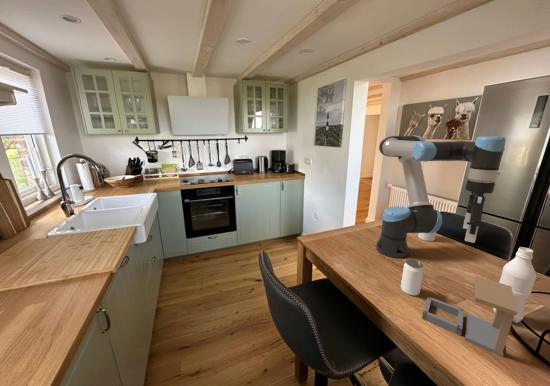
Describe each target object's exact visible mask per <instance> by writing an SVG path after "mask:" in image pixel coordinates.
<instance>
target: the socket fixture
mask: <svg viewBox="0 0 550 386" xmlns="http://www.w3.org/2000/svg"><path fill="white" fill-rule="evenodd" d="M474 302H476V303H479V304H481V305H484V306H487V307H490V308H492V309H493V308H495V309H496V312H495V313H494V316H493V319H492V322H491V321H488V320H485V319H482V318H480V317H478V316H474V315H472V314H469V313H466V314H465V326H464V327H465V331H464V332H465V333H464V340H465V341H466V342H469V343H471V344H473V345H475V346H478V347H480V348H483V349H484V350H486V351H488V352H492V353H493V354H495V355H498V356H500V357H503V358H504V354H505V353H504V349H505V346H506V343H507V339H508V336H509V333H510V330H511V327H512V323H513V318H514V315H515V316H516V315H517V308H516V304H515V299H514V295H513V291H512V287H511V286H508V285H505V284H502V283H499V282H498V281H495V280H491V279H488V278H484V277H481V276H478V275H475V277H474ZM431 307H433V308H436V309H437V310H440V311H442V312H446V313H448V314H451V315H453V316H455V317H456V323H455V322H453V321H450V320H447V319H445V318H444V317H441V316H439V315H436V314H434V313H431V312H430V308H431ZM421 317H422V318H421V319H422V320H425V321H426V322H429V323H431V324H433V325H436V326H438V327H440V328H443V329H445V330H447V331H449V332H452V333H454V334H456V335H458V336H462V332H463V323H464V309H462V308H460V307H457V306H455V305H452V304H449V303H446V302H444V301H441V300H439V299H436V298H433V297H431V296H427V299H426V301H425V305H424V307H423V312H422V316H421Z"/></svg>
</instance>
